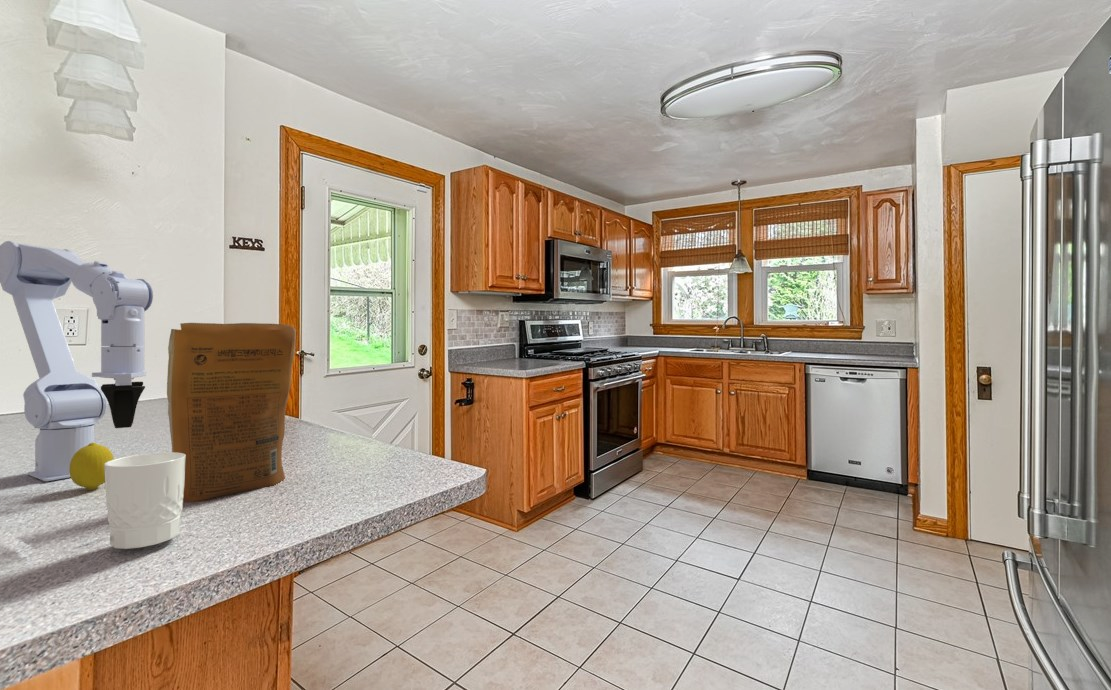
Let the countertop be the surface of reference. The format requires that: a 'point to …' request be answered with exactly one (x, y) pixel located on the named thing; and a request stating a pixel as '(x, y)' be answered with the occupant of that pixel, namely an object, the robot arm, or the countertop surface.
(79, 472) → the lemon
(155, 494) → the white cup
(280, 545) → the countertop surface
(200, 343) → the pancake mix bag
